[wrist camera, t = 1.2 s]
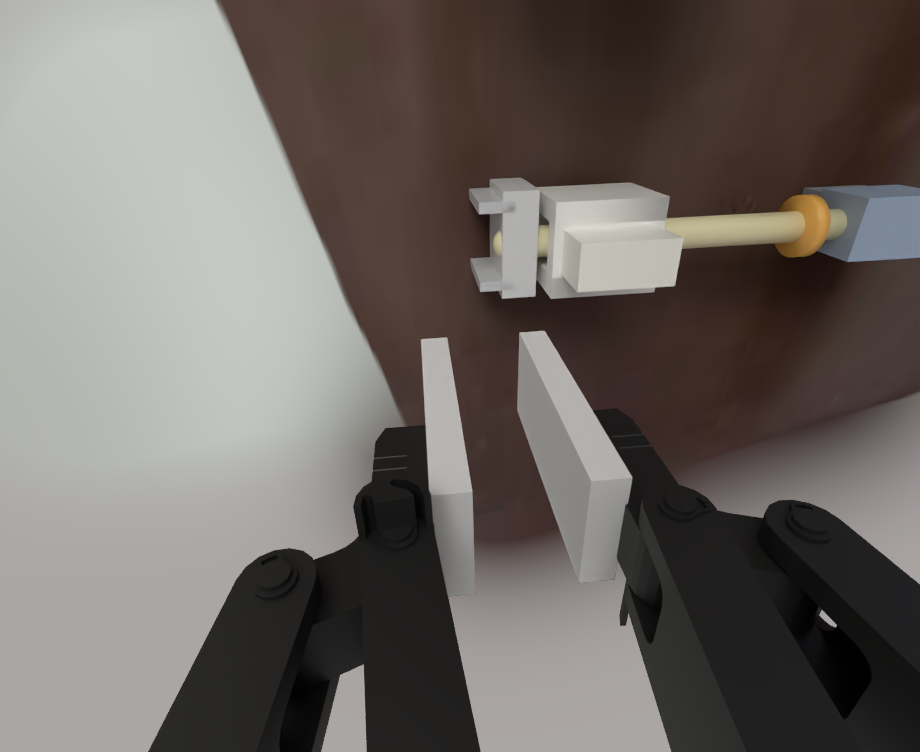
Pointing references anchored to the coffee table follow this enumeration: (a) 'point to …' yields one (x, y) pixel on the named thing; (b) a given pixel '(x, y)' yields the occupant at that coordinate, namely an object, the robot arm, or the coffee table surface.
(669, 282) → the white stepped block
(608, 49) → the coffee table surface
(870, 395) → the coffee table surface
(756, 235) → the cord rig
